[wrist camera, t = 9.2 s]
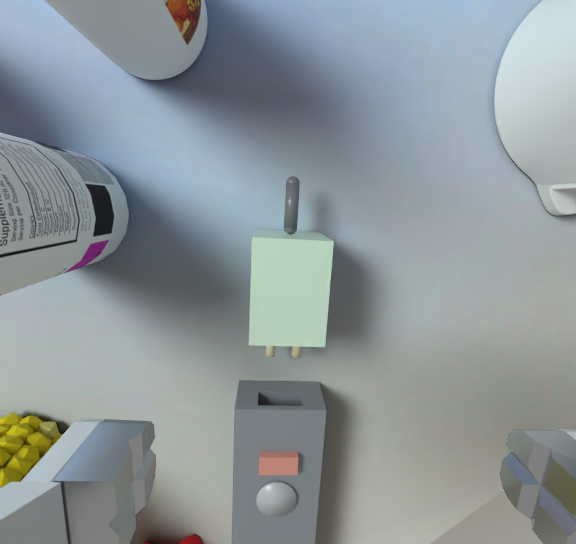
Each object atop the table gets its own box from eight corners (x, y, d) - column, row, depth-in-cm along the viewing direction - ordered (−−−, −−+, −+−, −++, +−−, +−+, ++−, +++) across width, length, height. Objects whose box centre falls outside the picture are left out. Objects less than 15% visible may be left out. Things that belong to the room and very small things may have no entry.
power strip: (318, 381, 29) (328, 415, 24) (301, 590, 34) (306, 649, 29) (239, 380, 28) (233, 414, 24) (234, 592, 33) (228, 652, 29)
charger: (322, 181, 25) (339, 175, 19) (310, 342, 28) (322, 380, 22) (257, 177, 24) (254, 169, 19) (252, 340, 27) (247, 378, 21)
